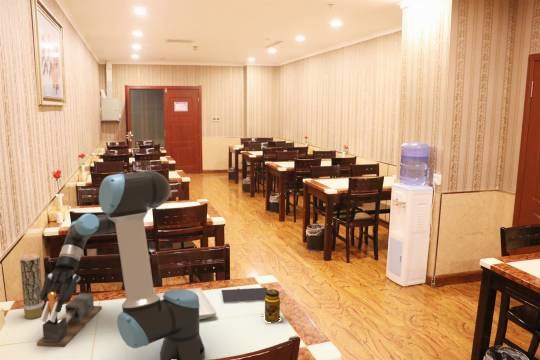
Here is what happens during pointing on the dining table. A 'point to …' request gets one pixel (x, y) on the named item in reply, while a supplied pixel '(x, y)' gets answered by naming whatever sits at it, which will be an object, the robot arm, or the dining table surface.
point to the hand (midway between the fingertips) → (47, 320)
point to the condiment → (272, 306)
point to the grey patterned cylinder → (31, 285)
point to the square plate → (200, 303)
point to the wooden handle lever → (67, 315)
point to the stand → (67, 331)
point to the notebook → (244, 295)
